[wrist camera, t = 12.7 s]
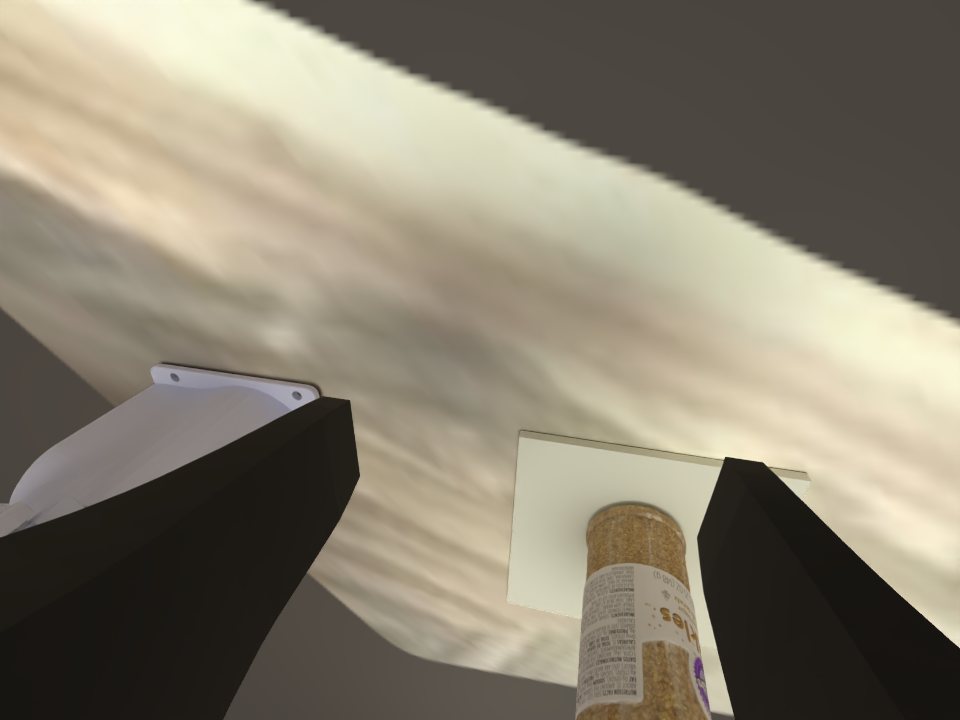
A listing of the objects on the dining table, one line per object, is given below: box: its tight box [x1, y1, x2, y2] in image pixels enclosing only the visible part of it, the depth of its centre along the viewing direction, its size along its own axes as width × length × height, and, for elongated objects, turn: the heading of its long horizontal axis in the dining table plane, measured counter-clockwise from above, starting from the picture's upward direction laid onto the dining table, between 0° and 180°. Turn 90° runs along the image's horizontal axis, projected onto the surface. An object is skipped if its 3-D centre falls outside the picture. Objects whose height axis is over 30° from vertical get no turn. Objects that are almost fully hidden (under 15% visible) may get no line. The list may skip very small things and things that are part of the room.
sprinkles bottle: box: [576, 505, 711, 720], centre depth 16 cm, size 5×5×14 cm
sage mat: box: [507, 430, 812, 649], centre depth 23 cm, size 12×12×1 cm
